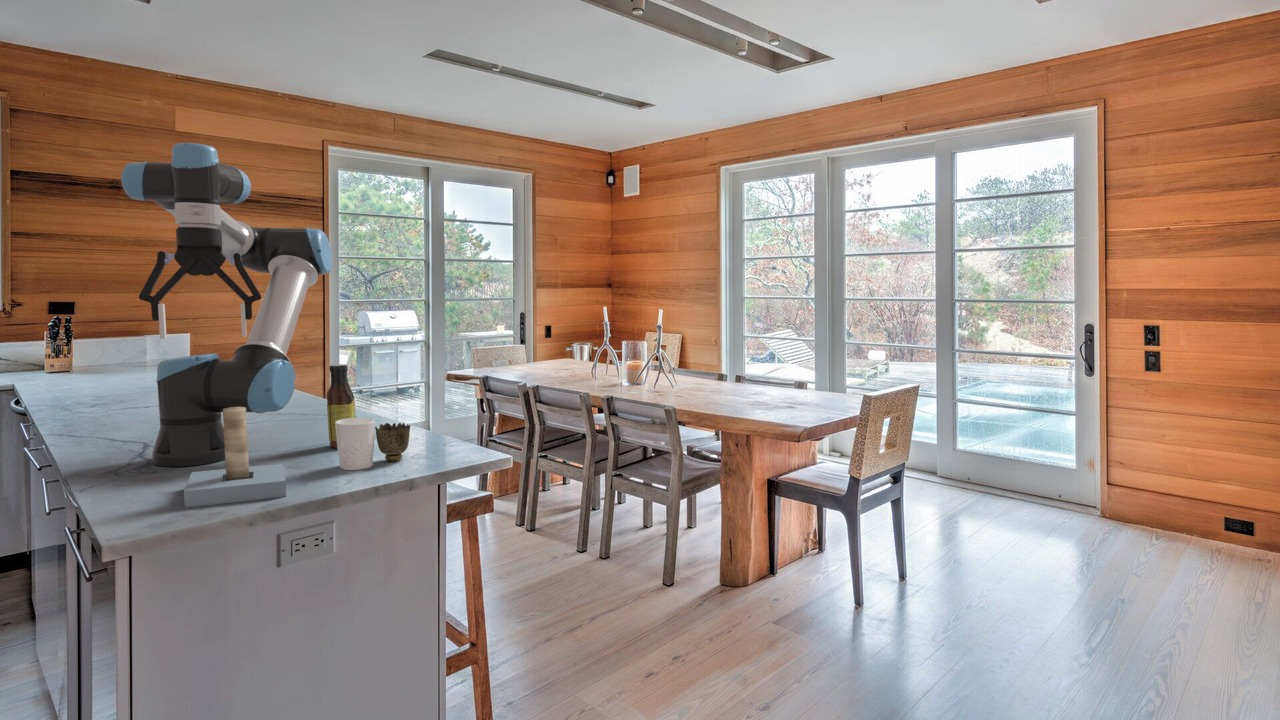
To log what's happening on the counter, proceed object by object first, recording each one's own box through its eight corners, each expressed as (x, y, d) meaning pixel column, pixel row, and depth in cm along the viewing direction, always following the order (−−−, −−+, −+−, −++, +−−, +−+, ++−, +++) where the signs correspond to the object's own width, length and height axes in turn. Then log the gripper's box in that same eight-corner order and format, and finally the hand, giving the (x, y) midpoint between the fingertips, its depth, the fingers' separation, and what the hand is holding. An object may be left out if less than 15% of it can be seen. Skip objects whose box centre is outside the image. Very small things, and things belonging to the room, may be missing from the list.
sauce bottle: (362, 445, 176) (359, 364, 174) (339, 450, 171) (336, 367, 169) (345, 442, 179) (343, 362, 177) (322, 446, 174) (319, 365, 172)
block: (192, 487, 139) (191, 472, 139) (284, 478, 146) (284, 463, 146) (184, 507, 127) (183, 491, 126) (286, 496, 134) (285, 480, 134)
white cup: (352, 473, 151) (350, 426, 150) (329, 467, 155) (327, 421, 154) (383, 465, 157) (382, 420, 156) (360, 460, 161) (359, 416, 160)
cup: (400, 465, 157) (399, 429, 156) (369, 463, 159) (368, 427, 158) (417, 457, 164) (416, 423, 164) (387, 455, 166) (386, 421, 165)
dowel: (227, 490, 137) (223, 407, 136) (250, 488, 139) (246, 406, 137) (226, 496, 134) (221, 411, 132) (249, 493, 136) (245, 409, 134)
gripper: (116, 222, 130) (123, 340, 132) (271, 228, 141) (276, 336, 143) (123, 225, 136) (130, 337, 139) (271, 231, 148) (275, 334, 150)
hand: (204, 337), depth 141 cm, fingers open, 13 cm apart
